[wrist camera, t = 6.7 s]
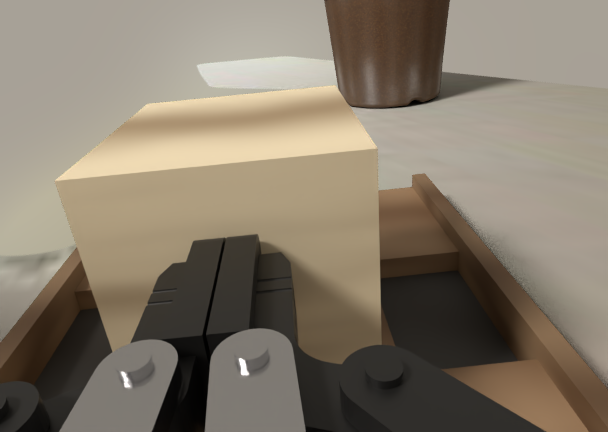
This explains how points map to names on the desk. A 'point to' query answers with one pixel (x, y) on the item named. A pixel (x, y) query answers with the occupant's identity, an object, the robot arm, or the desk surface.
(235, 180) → the block
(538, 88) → the desk surface
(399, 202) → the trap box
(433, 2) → the plant pot
